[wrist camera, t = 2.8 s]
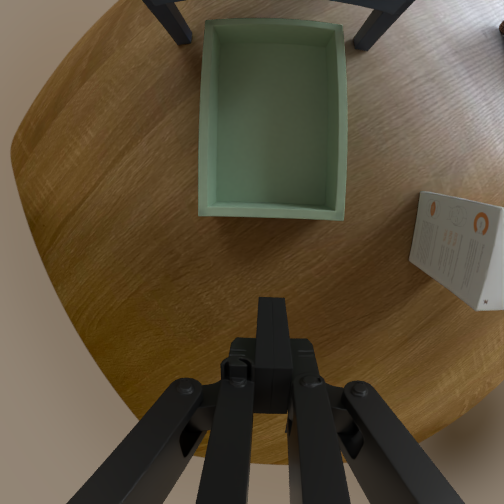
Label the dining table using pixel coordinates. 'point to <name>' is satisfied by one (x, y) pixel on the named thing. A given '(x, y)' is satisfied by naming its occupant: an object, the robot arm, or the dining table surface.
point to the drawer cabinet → (384, 3)
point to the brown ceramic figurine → (501, 27)
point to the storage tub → (273, 119)
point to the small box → (461, 248)
